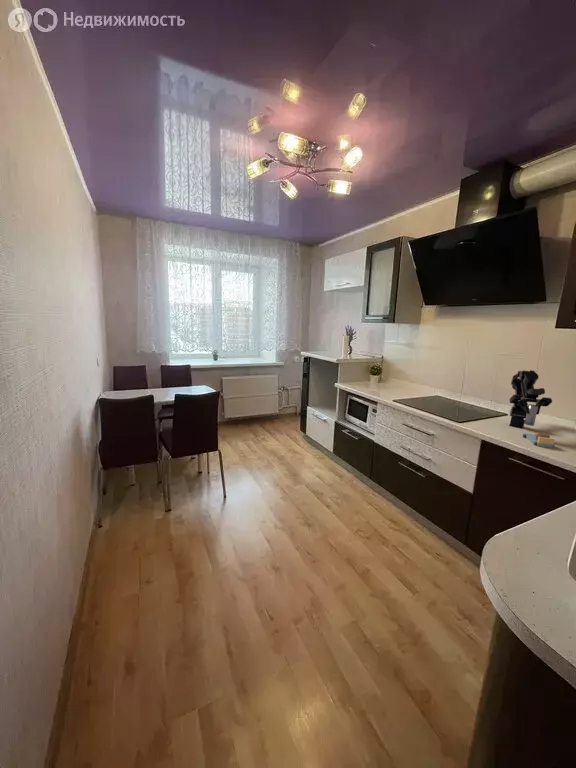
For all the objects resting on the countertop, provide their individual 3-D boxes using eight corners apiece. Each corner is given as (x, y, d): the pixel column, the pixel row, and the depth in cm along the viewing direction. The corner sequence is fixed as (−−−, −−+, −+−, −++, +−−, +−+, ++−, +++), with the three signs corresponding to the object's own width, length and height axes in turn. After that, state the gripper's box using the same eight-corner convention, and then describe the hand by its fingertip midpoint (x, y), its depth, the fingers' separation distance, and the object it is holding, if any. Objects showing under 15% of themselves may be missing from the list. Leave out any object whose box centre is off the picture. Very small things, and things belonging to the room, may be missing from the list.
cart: (521, 436, 178) (523, 428, 177) (539, 438, 176) (541, 429, 175) (535, 445, 164) (537, 437, 163) (554, 448, 163) (556, 439, 162)
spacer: (524, 424, 176) (529, 405, 173) (523, 422, 180) (528, 403, 177) (534, 426, 174) (539, 407, 171) (533, 423, 178) (537, 405, 175)
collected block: (535, 439, 169) (537, 432, 168) (543, 440, 168) (545, 432, 168) (539, 441, 165) (541, 434, 164) (548, 442, 165) (550, 435, 164)
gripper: (515, 380, 177) (520, 405, 170) (554, 383, 173) (561, 409, 165) (507, 390, 186) (511, 414, 179) (544, 394, 182) (549, 418, 174)
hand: (532, 413), depth 174 cm, fingers closed on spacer, 4 cm apart
